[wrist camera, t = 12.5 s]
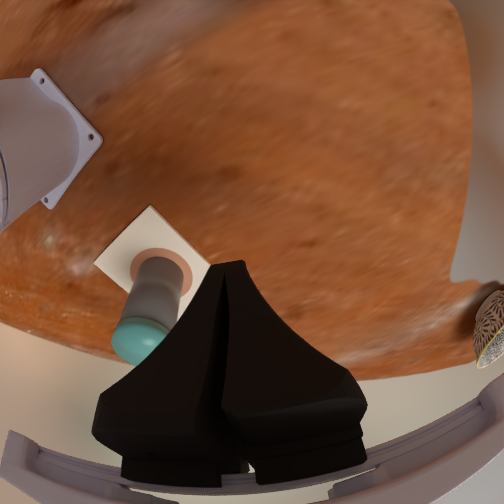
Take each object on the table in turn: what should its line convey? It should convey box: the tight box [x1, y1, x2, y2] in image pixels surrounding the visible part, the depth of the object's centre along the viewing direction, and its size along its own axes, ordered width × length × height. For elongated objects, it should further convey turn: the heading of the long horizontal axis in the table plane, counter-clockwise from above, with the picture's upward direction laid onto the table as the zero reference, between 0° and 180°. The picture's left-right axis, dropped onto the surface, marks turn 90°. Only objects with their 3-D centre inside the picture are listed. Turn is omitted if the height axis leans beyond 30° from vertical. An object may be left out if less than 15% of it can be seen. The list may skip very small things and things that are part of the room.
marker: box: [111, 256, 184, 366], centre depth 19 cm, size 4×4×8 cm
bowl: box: [473, 290, 504, 369], centre depth 29 cm, size 16×16×8 cm
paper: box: [94, 205, 211, 321], centre depth 23 cm, size 10×8×1 cm
